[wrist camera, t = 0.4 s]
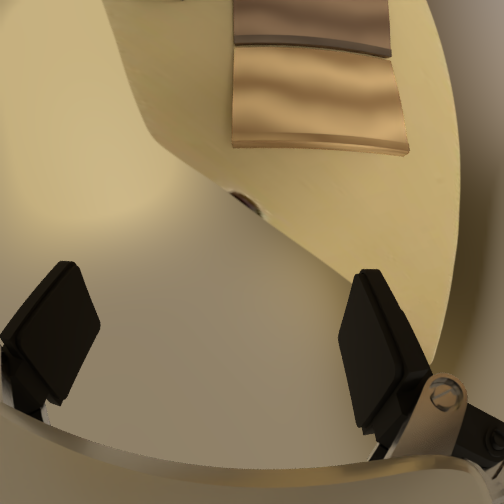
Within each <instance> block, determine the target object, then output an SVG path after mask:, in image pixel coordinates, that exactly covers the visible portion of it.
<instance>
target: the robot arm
mask: <svg viewBox="0 0 504 504" xmlns="http://www.w3.org/2000/svg"><path fill="white" fill-rule="evenodd" d="M99 330H100V320H99V318H98V315H97V313H96V310H95V308H94V306H93V303H92V301H91V298H90V296H89V293H88V290H87V288H86V285H85V282H84V279H83V277H82V274H81V271H80V268H79V267H78V266H77V265H76V264H75V262H72V261H71V262H70V261H60V262H58V263H57V265H56V266H55V267H54V268H53V269H52V270H51V271H50V272H49V273H48V275H47V276H46V277H45V278H44V279H43V280H42V281H41V283H40V284H39V285H38V286H37V287H36V289H35V290H34V291H33V292H32V293H31V295H30V296H29V297H28V298H27V300H26V301H25V302H24V303H23V305H22V306H21V307H20V308H19V310H18V311H17V312H16V314H15V315H14V316H13V318H12V319H11V320H10V322H9V323H8V324H7V326H6V327H5V328H4V330H3V331H2V333H1V334H0V338H1V340H2V341H3V343H4V345H3V347H2V346H1V345H0V504H504V422H502V421H500V420H498V419H497V418H495V417H493V416H491V415H489V414H487V413H485V412H483V411H482V410H480V409H478V408H476V407H474V406H472V405H471V404H469V403H467V402H468V395H467V390H466V389H465V386H464V385H463V383H462V382H461V381H460V380H459V379H458V378H456V377H455V376H453V375H451V374H447V373H438V374H434V375H433V374H432V371H431V369H430V367H429V364H428V362H427V360H426V357H425V355H424V353H423V351H422V349H421V346H420V344H419V342H418V340H417V338H416V336H415V334H414V332H413V330H412V328H411V326H410V324H409V322H408V320H407V318H406V316H405V314H404V312H403V311H402V310H401V309H400V307H399V305H398V303H397V301H396V299H395V297H394V295H393V293H392V291H391V290H390V288H389V286H388V284H387V282H386V280H385V279H384V277H383V275H382V273H381V272H380V270H378V269H362V270H361V271H360V273H359V274H355V276H354V279H353V283H352V287H351V291H350V295H349V299H348V302H347V306H346V310H345V313H344V317H343V320H342V324H341V327H340V330H339V335H338V341H339V346H340V351H341V355H342V359H343V364H344V368H345V373H346V377H347V381H348V386H349V391H350V396H351V400H352V405H353V410H354V415H355V420H356V424H357V427H359V428H360V427H362V431H363V435H368V434H373V433H375V437H376V441H377V442H378V443H377V444H376V446H375V447H374V449H373V451H372V452H371V454H370V456H369V457H368V458H367V460H366V462H360V463H354V464H346V465H338V466H328V467H317V468H300V469H236V468H221V467H211V466H200V465H194V464H186V463H179V462H173V461H168V460H162V459H157V458H152V457H147V456H143V455H138V454H134V453H130V452H126V451H122V450H119V449H115V448H112V447H108V446H105V445H102V444H99V443H96V442H92V441H90V440H87V439H83V438H81V437H78V436H75V435H73V434H70V433H67V432H65V431H62V430H60V429H57V428H55V427H53V426H51V425H50V421H49V417H48V413H47V409H46V405H45V400H46V399H47V400H48V401H49V402H50V403H53V404H55V405H58V406H61V404H62V401H63V400H64V399H66V398H67V396H68V394H69V392H70V389H71V387H72V385H73V383H74V381H75V378H76V376H77V374H78V372H79V370H80V368H81V366H82V364H83V362H84V360H85V358H86V356H87V354H88V352H89V350H90V348H91V346H92V344H93V342H94V340H95V338H96V335H97V334H98V332H99Z"/></svg>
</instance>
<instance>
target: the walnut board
mask: <svg viewBox="0 0 504 504" xmlns="http://www.w3.org/2000/svg"><path fill="white" fill-rule="evenodd" d="M233 5H234V44H235V46H241V45H286V46H305V47H317V48H327V49H335V50H343V51H350V52H356V53H362V54H368V55H373V56H378V57H383V58H389V57H392V54H391V46H390V23H389V9H388V0H233Z"/></svg>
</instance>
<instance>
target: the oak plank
mask: <svg viewBox="0 0 504 504" xmlns="http://www.w3.org/2000/svg"><path fill="white" fill-rule="evenodd" d="M232 145H233V148H308V149H328V150H344V151H356V152H367V153H377V154H386V155H394V156H402V157H403V156H405V155H407V154H408V153H409V151H410V148H409V143H408V139H407V133H406V127H405V121H404V116H403V110H402V105H401V101H400V96H399V91H398V87H397V83H396V79H395V75H394V71H393V67H392V64H391V61H389V60H384V59H379V58H374V57H369V56H364V55H358V54H352V53H345V52H337V51H329V50H319V49H308V48H291V47H236V48H234V72H233V109H232Z"/></svg>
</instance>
